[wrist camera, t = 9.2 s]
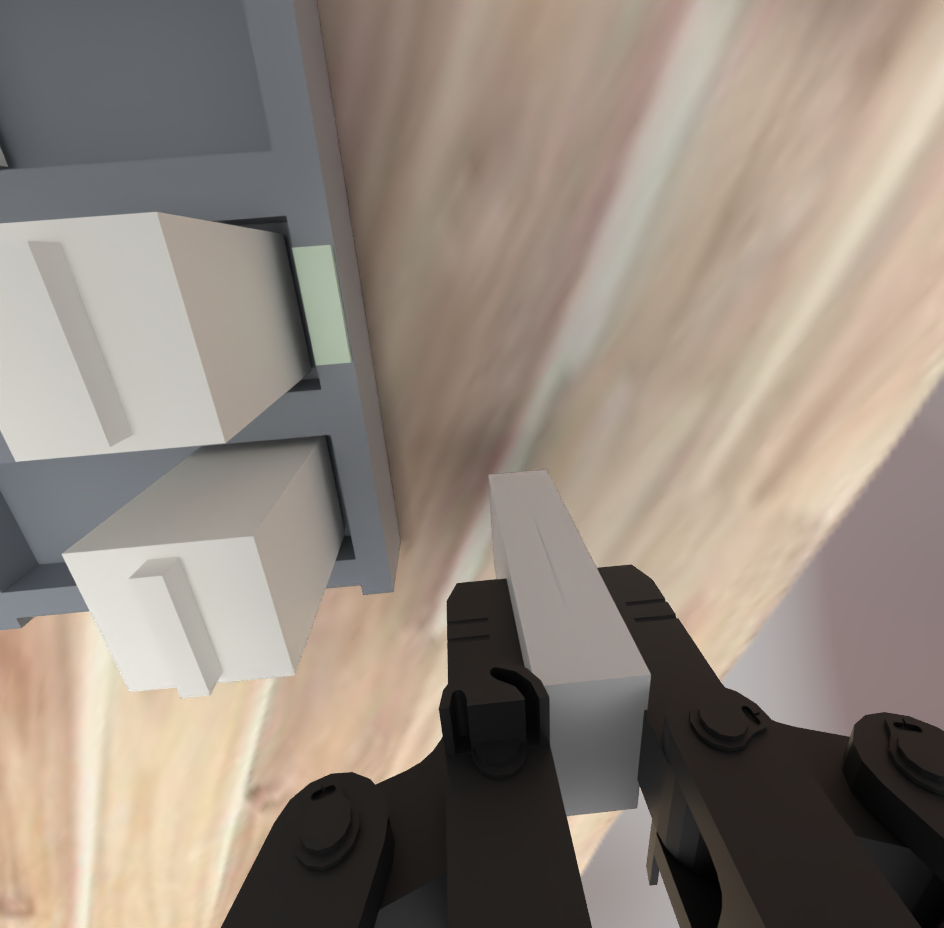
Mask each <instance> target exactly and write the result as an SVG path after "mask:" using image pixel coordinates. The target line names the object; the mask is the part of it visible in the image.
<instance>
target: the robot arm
mask: <svg viewBox="0 0 944 928" xmlns="http://www.w3.org/2000/svg"><path fill="white" fill-rule="evenodd" d="M488 477H489V492H490V508H491V523H492V538H493V554H494V566H495V572H496V577H497V579H495V580H485V581H475V582H465V583H457V584H456V586H455V587H454V589H453V591H452V593H451V595H450V596H449V598H448V600H447V640H448V643H447V648H448V685H447V686H446V687H445V689H444V690H443V693H442V698H441V702H440V706H439V713H440V720H441V727H442V734H443V737H442V739H441V740H440V742H439V743H438V745H437V746H436V747H435V749H434V750H433V752H431V753H430V754H429V755H428V756H427V757H426V758H425V759H424V760H423V761H422V762H420V763H419V764H417V765H415V766H414V767H412V768H410V769H408V770H407V771H405V772H402V773H400V774H398V775H396V776H394V777H391V778H389V779H387V780H385V781H383V782H380V783H378V784H376V785H375V784H374V783H373V782H372V781H371V779H369V778H366V777H363V776H361V775H358V774H356V773H353V772H349V773H334V774H330V775H327V776H325V777H323V778H321V779H318V780H316V781H314V782H311V783H310V784H308V785H307V786H306V787H305V788H304V789H302V790H301V791H300V792H299V793H298V794H296V795H295V796H294V797H293V798H292V799H290V801H289V802H288V804H287V805H286V807H285V808H284V809H283V811H282V812H281V814H280V815H279V817H278V818H277V819H276V821H275V822H274V824H273V826H272V828H271V830H270V832H269V834H268V836H267V838H266V840H265V842H264V844H263V846H262V848H261V850H260V852H259V854H258V856H257V858H256V860H255V862H254V864H253V866H252V868H251V870H250V871H249V873H248V875H247V877H246V879H245V881H244V883H243V885H242V887H241V889H240V891H239V893H238V895H237V897H236V899H235V901H234V903H233V905H232V907H231V909H230V911H229V913H228V915H227V917H226V919H225V921H224V923H223V924H222V926H221V928H592V926H591V922H590V917H589V913H588V909H587V904H586V900H585V895H584V891H583V886H582V882H581V878H580V873H579V869H578V865H577V860H576V856H575V851H574V847H573V843H572V838H571V834H570V830H569V825H568V821H567V816H572V815H581V814H590V813H599V812H608V811H617V810H626V809H635V808H637V805H638V796H639V786H640V788H641V790H642V793H643V795H644V798H645V801H646V804H647V806H648V809H649V811H650V814H651V817H652V824H651V833H650V841H649V849H648V857H647V865H646V867H647V873H648V879H649V885H657V882H658V875H659V870H660V873H661V876H662V879H663V881H664V884H665V887H666V890H667V893H668V895H669V898H670V901H671V904H672V906H673V910H674V912H675V915H676V918H677V921H678V924H679V926H680V928H944V731H942V730H941V729H939V728H938V727H935V726H933V725H930V724H928V723H925V722H922V721H920V720H917V719H915V718H912V717H910V716H904V715H898V714H892V713H886V712H884V713H876V714H870V715H865V716H864V717H863V718H862V719H860V720H859V721H858V722H857V723H856V724H855V725H854V727H853V730H852V733H851V736H850V737H847V736H842V735H837V734H830V733H826V732H820V731H815V730H809V729H803V728H798V727H793V726H790V725H786V724H782V723H778V722H775V721H773V720H771V719H770V718H769V716H768V715H767V714H766V713H765V712H764V711H763V710H762V709H761V708H760V707H759V706H758V705H757V704H756V703H754V702H753V701H751V700H749V699H748V698H746V697H744V696H743V695H741V694H740V693H738V692H736V691H733V690H731V689H728V688H725V687H724V686H723V684H722V683H721V682H720V680H719V679H718V677H717V676H716V674H715V673H714V671H713V670H712V668H711V667H710V665H709V664H708V662H707V661H706V659H705V658H704V656H703V655H702V653H701V652H700V650H699V649H698V647H697V646H696V644H695V643H694V641H693V640H692V638H691V637H690V635H689V634H688V632H687V631H686V629H685V628H684V626H683V625H682V623H681V622H680V620H679V619H676V614H675V613H674V611H673V610H672V608H671V607H670V605H669V604H668V602H665V598H664V596H663V595H662V593H661V592H660V590H659V589H658V587H657V586H656V584H655V583H654V581H653V580H652V579H651V578H650V577H648V576H647V575H645V574H644V573H643V572H641V571H640V570H638V569H637V568H636V567H634V566H633V565H622V566H612V567H601V568H596V566H595V564H594V562H593V560H592V558H591V556H590V554H589V552H588V550H587V548H586V546H585V544H584V542H583V540H582V538H581V536H580V534H579V532H578V530H577V528H576V526H575V524H574V522H573V520H572V518H571V516H570V514H569V512H568V511H567V509H566V507H565V505H564V503H563V501H562V499H561V497H560V495H559V493H558V491H557V489H556V487H555V485H554V483H553V481H552V479H551V477H550V475H549V473H548V471H547V469H546V470H535V471H524V472H513V473H502V474H491V475H488Z"/></svg>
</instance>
